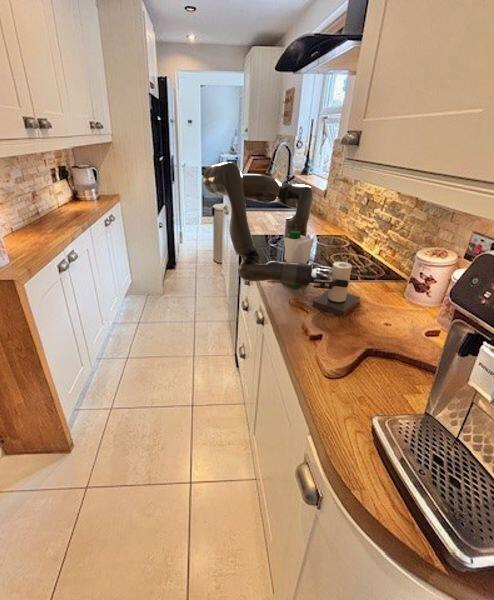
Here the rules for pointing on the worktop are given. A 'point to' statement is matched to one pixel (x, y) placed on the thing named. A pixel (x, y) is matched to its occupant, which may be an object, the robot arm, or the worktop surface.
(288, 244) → the soya milk
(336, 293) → the paper roll
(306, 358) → the worktop surface
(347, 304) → the slate board
